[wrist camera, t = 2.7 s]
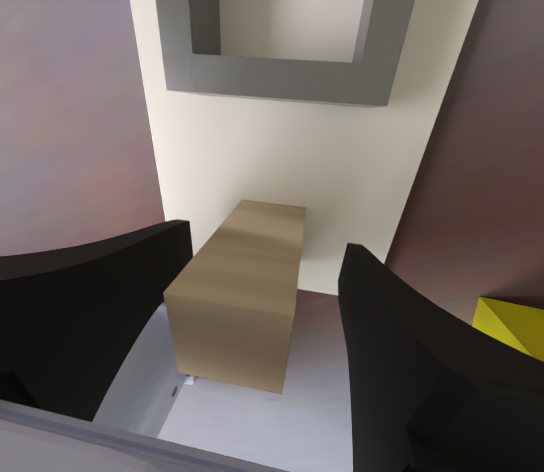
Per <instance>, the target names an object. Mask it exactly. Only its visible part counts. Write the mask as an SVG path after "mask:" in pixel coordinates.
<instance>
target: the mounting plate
mask: <svg viewBox="0 0 544 472" xmlns="http://www.w3.org/2000/svg"><path fill="white" fill-rule="evenodd" d="M363 1H364V0H219V4H220V40H221V56H238V57H256V58H275V59H293V60H312V61H330V62H348V63H352V60H353V55H354V49H355V44H356V39H357V33H358V28H359V23H360V17H361V12H362V7H363ZM478 1H479V0H415V3H414V6H413V10H412V14H411V18H410V21H409V25H408V29H407V33H406V37H405V40H404V44H403V48H402V52H401V55H400V59H399V63H398V67H397V71H396V74H395V78H394V82H393V86H392V90H391V93H390V97H389V101H388V105H387V106H386V107H374V108H366V107H353V106H339V105H326V104H312V103H299V102H285V101H272V100H259V99H245V98H232V97H218V96H205V95H195V94H189V93H182V92H175V91H168V90H166V82H165V74H164V66H163V57H162V49H161V41H160V33H159V25H158V17H157V9H156V0H130V3H131V9H132V16H133V22H134V28H135V34H136V40H137V47H138V53H139V59H140V65H141V72H142V78H143V84H144V90H145V96H146V103H147V109H148V115H149V121H150V128H151V134H152V140H153V146H154V152H155V159H156V165H157V171H158V177H159V183H160V190H161V196H162V202H163V208H164V215H165V221H170V220H175V219H179V220H187V221H190V230H191V239H192V248H193V257H194V256H195V255H196V253H197V252H198V251H199V250H200V249H201V248H202V246H203V245H204V244H205V243H206V242H207V240H208V239H209V238H210V237H211V236H212V235H213V233H214V232H215V231H216V230H217V229H218V227H219V226H220V225H221V224H222V223H223V222H224V220H225V219H226V218H227V217H228V216H229V214H230V213H231V212H232V211H233V210H234V208H235V207H236V206H237V205H238V204H239V203H240V201H241V200H250V201H258V202H266V203H274V204H282V205H290V206H298V207H306V210H305V220H304V229H303V239H302V248H301V258H300V268H299V277H298V287H297V289H302V290H308V291H314V292H320V293H326V294H333V295H338V278H339V274H340V270H341V266H342V262H343V258H344V254H345V250H346V246H347V243H354V244H361V245H363V246H365V247H366V248H367V249H368V250H369V251H370V252H371V253H372V254H373V255H374V256H376V257H377V258H378V259H379V260H380V261H381V262H382V263H383V264H384V262H385V260H386V257H387V254H388V251H389V249H390V246H391V243H392V240H393V237H394V235H395V232H396V229H397V226H398V223H399V221H400V218H401V215H402V212H403V210H404V207H405V204H406V201H407V198H408V196H409V193H410V190H411V187H412V184H413V182H414V179H415V176H416V173H417V171H418V168H419V165H420V162H421V159H422V157H423V154H424V151H425V148H426V146H427V143H428V140H429V137H430V134H431V132H432V129H433V126H434V123H435V120H436V118H437V115H438V112H439V109H440V107H441V104H442V101H443V98H444V95H445V93H446V90H447V87H448V84H449V81H450V79H451V76H452V73H453V70H454V68H455V65H456V62H457V59H458V56H459V54H460V51H461V48H462V45H463V42H464V40H465V37H466V34H467V31H468V29H469V26H470V23H471V20H472V17H473V15H474V12H475V9H476V6H477V4H478Z"/></svg>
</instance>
